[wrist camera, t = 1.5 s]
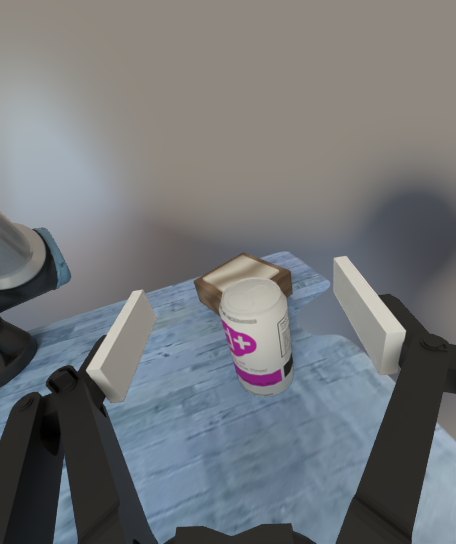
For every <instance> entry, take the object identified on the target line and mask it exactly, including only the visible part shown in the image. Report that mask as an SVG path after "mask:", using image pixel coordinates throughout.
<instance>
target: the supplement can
mask: <svg viewBox="0 0 456 544" xmlns="http://www.w3.org/2000/svg"><path fill="white" fill-rule="evenodd" d="M219 313H220V316H221V320H222V323H223V327H224V330H225V334H226V337H227V341H228V344H229V348H230V351H231V355H232V358H233V362H234V365H235V369H236V372H237V376H238V379H239V382H240V384H241V385H242V387H243V388H244V389H245V390H246V391H247V392H249V393H251V394H253V395H254V396H260V397H271V396H276V395H278V394H280V393H281V392H283V391H285V390H286V389H287V387H288V386H289V385H290V384H291V382H292V379H293V376H294V370H293V359H292V349H291V339H290V328H289V318H288V307H287V299H286V296H285V295H284V294H283V292H282V291H281V290H280V288H279V286H278V285H277V284H276V283H275V282H273V281H272V280H270V279H266V278H262V277H250V278H245V279H241V280H239V281H236V282H234V283H233V284H231V285H230V286H228V287H227V288H226V289H225V291H224V292H223V294H222V298H221V303H220V307H219Z"/></svg>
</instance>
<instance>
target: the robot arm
mask: <svg viewBox="0 0 456 544" xmlns="http://www.w3.org/2000/svg"><path fill="white" fill-rule="evenodd" d="M70 279H71V273H70V271H69V268H68V266H67V264H66V263H65V260H64V258H63V256H62V254H61V252H60V250H59V248H58V246H57V244H56V242H55V241H54V239H53V238H52V235H51V234H50V232H49V231H48V230H47V229H46V228H34V229H30V228H28V227H26V226H24V225H21V224H17V223H12V222H11V221H9V220H8V219H7V218H6V217H5V216H4V215H3V214H2V213H1V212H0V313H1V312H3V311H5V310H7V309H10V308H12V307H14V306H17V305H19V304H21V303H24V302H26V301H28V300H30V299H33V298H35V297H37V296H40V295H42V294H44V293H46V292H49V291H51V290H55V289H58V288H59V287H60V286H62V285H64V284H66V283H68V282H69V281H70ZM334 294H335V296H336V297H337V299H338V301H339V303H340V305H341V306H342V308H343V310H344V312H345V314H346V315H347V317H348V319H349V321H350V323H351V324H352V326H353V328H354V329H355V331H356V333H357V335H358V337H359V339H360V340H361V342H362V344H363V346H364V348H365V349H366V351H367V353H368V355H369V356H370V358H371V360H372V362H373V364H374V365H375V367H376V369H377V371H378V373H379V374H380V375H386V374H396V373H397V372H398V367H399V366H400V367H401V371H400V374H399V377H398V379H397V382H396V385H395V388H394V390H393V393H392V396H391V399H390V401H389V404H388V407H387V409H386V412H385V415H384V418H383V420H382V423H381V426H380V429H379V431H378V434H377V437H376V440H375V442H374V445H373V448H372V451H371V453H370V456H369V459H368V462H367V464H366V467H365V470H364V473H363V475H362V478H361V481H360V484H359V486H358V489H357V492H356V494H355V495H354V497H353V499H352V501H351V503H350V506H349V508H348V511H347V514H346V516H345V519H344V522H343V525H342V527H341V530H340V533H339V535H338V538H337V541H336V544H411V543H412V531H413V526H414V522H415V517H416V513H417V508H418V504H419V499H420V495H421V490H422V485H423V481H424V476H425V472H426V467H427V463H428V458H429V453H430V449H431V444H432V440H433V435H434V431H435V426H436V421H437V417H438V412H439V407H440V403H441V399H442V394H443V392H449V393H455V394H456V345H453V344H449V343H448V342H447V341H446V340H444V339H443V338H441V337H439V336H436V335H434V334H430V333H429V332H428V331H427V330H426V329H425V328H424V327H423V326H422V325H421V323H420V322H419V321H418V320H417V319H416V318H415V317H414V316H413V315H412V314H411V313H410V311H409V310H408V309H407V308H406V307H405V306H404V305H403V303H402V302H401V301H400V300H399V299H397V298H396V297H394V296H392V295H390V294H385V295H377V294H376V293H375V292H374V290H373V289H372V288H371V287H370V285H369V284H368V283H367V282H366V280H365V279H364V278H363V277H362V275H361V274H360V273H359V272H358V270H357V269H356V268H355V267H354V265H353V264H352V263H351V262H350V260H349V259H348V258H347V257H346V256H343V257H337V258H334ZM156 319H157V318H156V316H155V314H154V312H153V310H152V308H151V305H150V303H149V301H148V299H147V297H146V295H145V293H144V291H143V290H138V291H133V292H132V294H131V296H130V298H129V299H128V301H127V302H126V304H125V306H124V307H123V309H122V311H121V312H120V314H119V316H118V317H117V319H116V321H115V322H114V324H113V326H112V327H111V329H110V331H109V332H108V334H107V335H103V336H102V337H101V338H100V339H99V340H98V341H97V342H96V343H95V345H94V346H93V348H92V350H91V351H90V353H89V354H88V356H87V358H86V359H85V361H84V362H83V364H82V366H81V367H80V369H79V370H78V372H77V371H76V370H75V369H74V367H73V366H71V365H67V366H63V367H61V368H59V369H58V370H56V371H55V372H53V373H52V374H51V376H50V377H49V378H48V380H47V381H46V386H47V387H48V389H49V390H50V391H51V392H52V393H51V394H48V395H46V396H43V397H42V396H41V395H40V394H39V393H38V392H32V393H29V394H27V395H25V396H24V397H22V398H21V399H20V400H19V401H17V403H16V404H15V405H14V406H13V408H12V409H11V411H10V414H9V417H8V420H7V423H6V426H5V428H4V431H3V434H2V437H1V440H0V544H53V539H54V531H55V523H56V515H57V507H58V499H59V491H60V483H61V475H62V467H63V459H64V454H65V461H66V467H67V473H68V479H69V486H70V492H71V498H72V504H73V511H74V517H75V523H76V529H77V535H78V544H158V542H157V540H156V538H155V537H154V535H153V534H152V532H151V530H150V527H149V525H148V522H147V519H146V517H145V514H144V511H143V508H142V506H141V503H140V500H139V497H138V495H137V492H136V489H135V487H134V484H133V481H132V478H131V476H130V473H129V470H128V467H127V465H126V462H125V459H124V457H123V454H122V451H121V448H120V446H119V443H118V440H117V437H116V435H115V432H114V429H113V427H112V424H111V421H110V418H109V416H108V413H107V410H106V407H105V406H104V405H103V401H104V399H105V397H106V398H107V399H108V400H109V402H110V403H116V402H124V399H125V397H126V394H127V392H128V389H129V387H130V384H131V382H132V379H133V377H134V374H135V372H136V369H137V367H138V364H139V362H140V359H141V357H142V354H143V352H144V349H145V347H146V344H147V341H148V339H149V336H150V334H151V331H152V329H153V326H154V324H155V321H156ZM36 350H37V342H36V340H35V339H34V338H33V337H32V336H31V335H30V334H29V333H28V332H26V331H24V330H22V329H20V328H18V327H16V326H14V325H12V324H10V323H8V322H6V321H4V320H3V319H2V318H1V317H0V387H1V386H3V385H4V384H5V383H7V382H8V381H10V380H11V379H12V378H13V377H15V376H16V375H17V374H18V373H19V372H20V371H21V370H22V369H23V368H24V367H25V366H26V365H27V364H28V363H29V362H30V360H31V359H32V358H33V356H34V354H35V353H36ZM164 544H316V543H315V542H314V541H312V540H311V539H309V538H308V537H306V536H304V535H302V534H300V533H297V532H294V531H293V529H292V524H291V523H287V524H261V525H259V526H257V527H254V528H252V529H249V530H247V531H244V532H242V533H240V534H237V535H234V536H229V535H226V534H224V533H221V532H218V531H215V530H213V529H210V528H207V527H204V526H192V527H177V528H176V535H175V537H173V538H171V539H169V540H168V541H166V542H165V543H164Z"/></svg>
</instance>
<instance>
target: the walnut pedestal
mask: <svg viewBox="0 0 456 544" xmlns="http://www.w3.org/2000/svg"><path fill="white" fill-rule="evenodd" d="M250 277H262V278H266V279H270V280H272V281H273V282H275V283H276V284H277V285H278V286H279V288H280V290H281V291H282V292H283V294H284V295H285V296H286V298H287V297H288V296H290V295H291V294H292V283H291V271H289V270H286V269H284V268H281V267H279V266H276V265H274V264H271V263H269V262H266V261H264V260H261V259H258V258H256V257H253V256H251V255H248V254H246V253H241V254H240V255H238V256H236V257H235V258H233V259H231V260H229V261H228V262H226V263H224V264H223V265H221V266H219V267H217V268H215V269H214V270H212V271H210V272H208V273H207V274H205V275H203V276H201V277H200V278H198V279H196V280H194V284H195V287H196V290H197V293H198V296H199V299H200V302H202V303H203V304H204V305H206V306H207V307H208V308H210V309H211V310H212V311H214V312H215V313H216V314H218V315H219V316H220V313H219V307H220V303H221V298H222V294H223V292H224V291H225V289H226V288H227V287H228V286H230V285H231V284H233V283H234V282H236V281H239V280H241V279H245V278H250ZM220 317H221V316H220Z"/></svg>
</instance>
